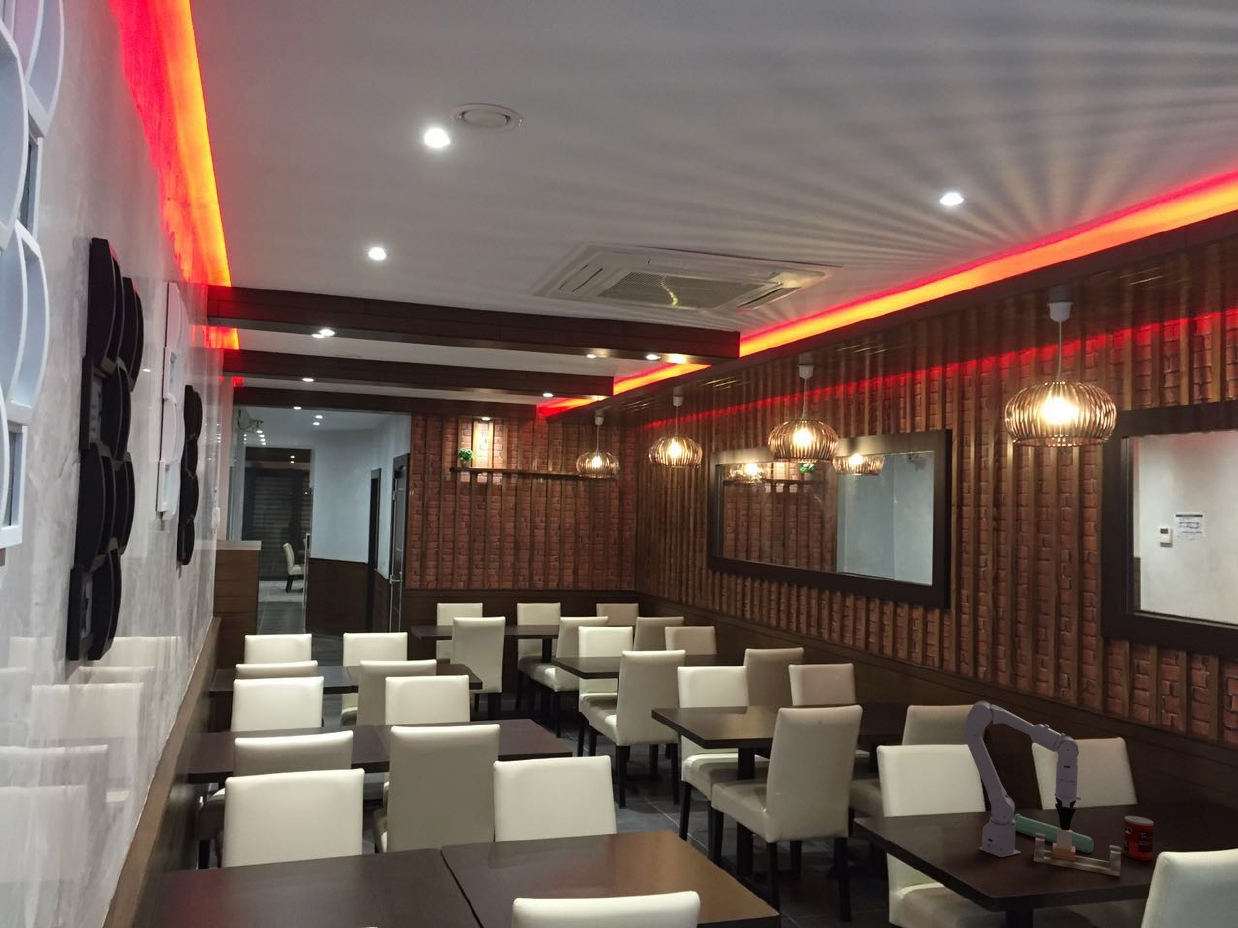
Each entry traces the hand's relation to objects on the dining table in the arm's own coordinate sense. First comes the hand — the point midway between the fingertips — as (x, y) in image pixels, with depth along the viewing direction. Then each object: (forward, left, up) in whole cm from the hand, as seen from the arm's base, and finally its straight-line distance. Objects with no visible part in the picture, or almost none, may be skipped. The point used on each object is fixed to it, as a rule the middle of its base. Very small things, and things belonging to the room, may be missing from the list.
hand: (1064, 826), depth 298 cm
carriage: (0, 0, -9) cm, 9 cm away
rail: (+2, -3, -10) cm, 11 cm away
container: (+16, +14, -11) cm, 24 cm away
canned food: (+28, -6, -11) cm, 31 cm away
